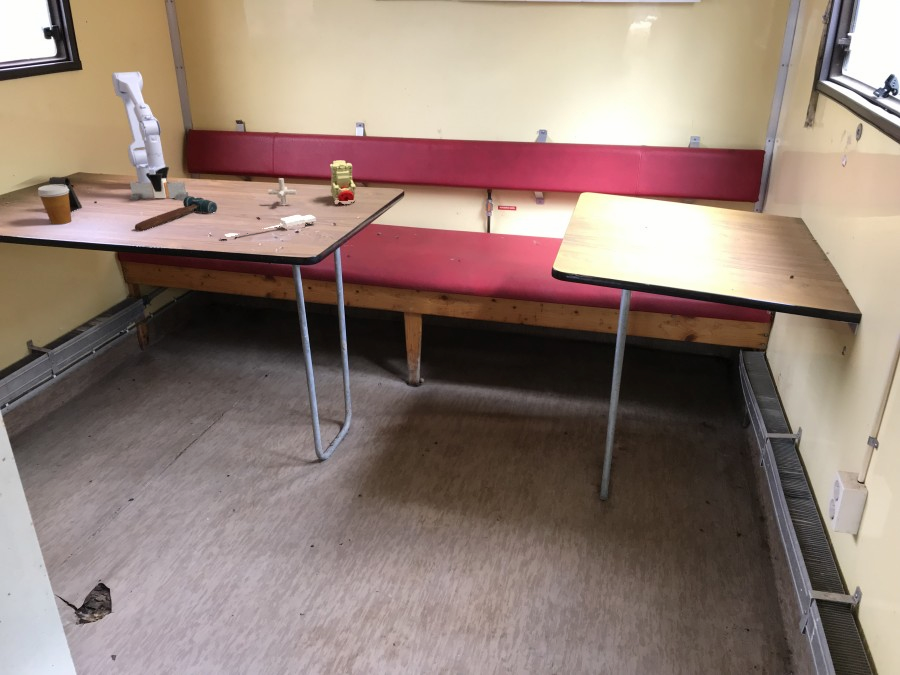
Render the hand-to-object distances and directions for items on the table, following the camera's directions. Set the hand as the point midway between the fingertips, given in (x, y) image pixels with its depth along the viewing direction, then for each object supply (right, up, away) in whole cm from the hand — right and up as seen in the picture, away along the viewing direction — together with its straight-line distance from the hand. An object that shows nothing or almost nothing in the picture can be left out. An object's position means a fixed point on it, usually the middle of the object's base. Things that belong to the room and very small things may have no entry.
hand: (161, 189), depth 263 cm
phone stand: (-28, -11, -15) cm, 33 cm away
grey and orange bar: (-1, -3, +1) cm, 4 cm away
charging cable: (+52, -22, -35) cm, 66 cm away
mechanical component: (+71, -6, -3) cm, 71 cm away
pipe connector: (+49, -8, -7) cm, 50 cm away
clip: (0, -3, +1) cm, 3 cm away
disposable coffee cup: (-23, -17, -27) cm, 40 cm away
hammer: (+15, -16, -24) cm, 32 cm away
